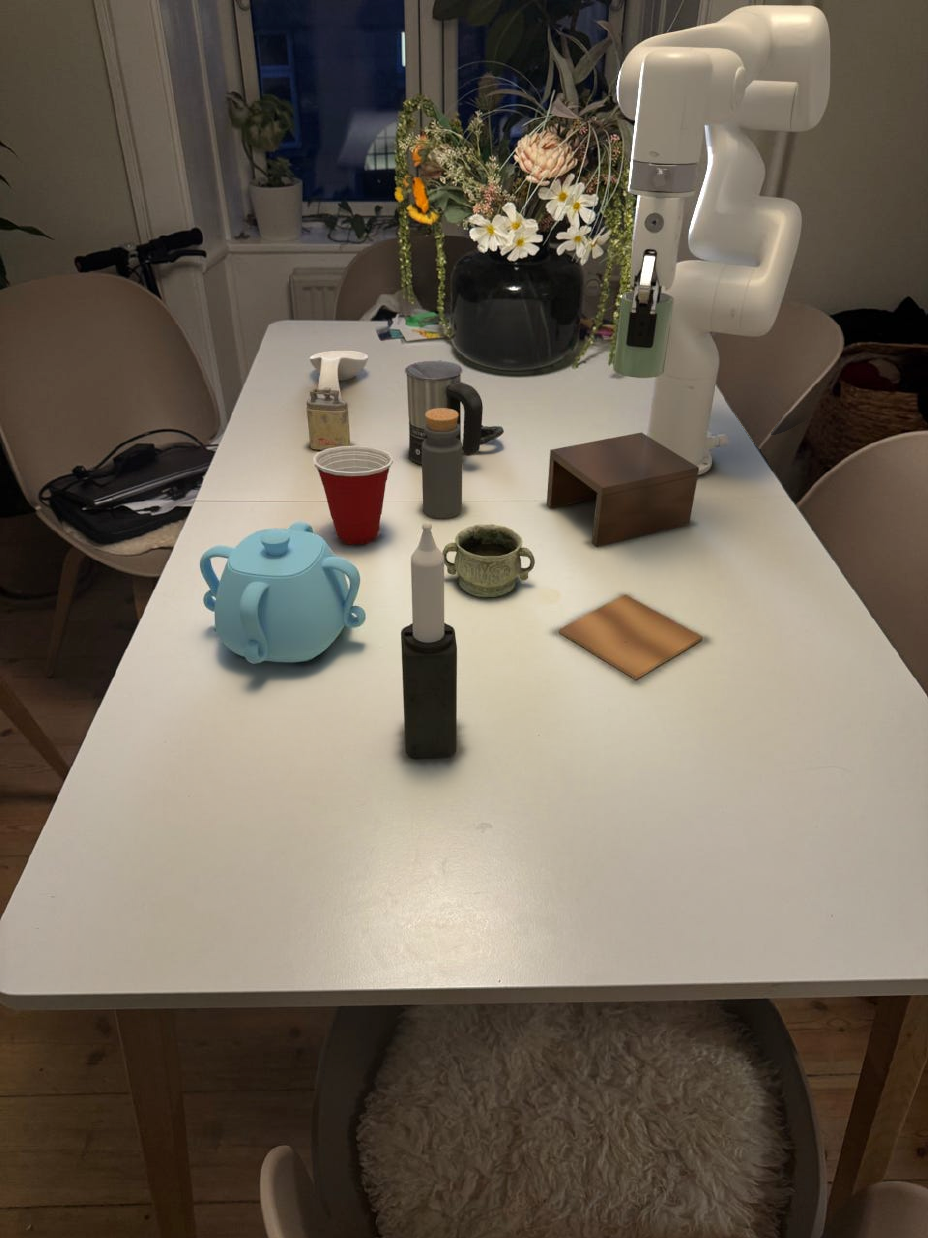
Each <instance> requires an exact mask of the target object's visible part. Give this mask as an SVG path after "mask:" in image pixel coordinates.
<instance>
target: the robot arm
mask: <svg viewBox="0 0 928 1238" xmlns="http://www.w3.org/2000/svg"><path fill="white" fill-rule="evenodd" d="M616 84H617V85H616V97H617V104H618V106H619V109H620V111H621V112H622V114H623V115H624V116H625V117H626V118H628V119H629V120H631V121H635V122H634V130H633V131H634V132H633V139H632V150H631V157H630V159H631V160H630V168H629V176H628V177H629V178H628V187H627V192H628V193H629V194H631V195H635V196H637V198H636V207H635V215H634V222H633V223H634V224H633V232H632V233H633V235H632V242H631V256H630V270H629V285H630V286H631V287H632V288H634V290H633V291H634V297H633V304H632V311H630V316H629V324H628V333H627V341H626V344H627V346H631V347H642V348H651V347H652V346H653V342H654V335H655V328H656V320H657V313H655V310H656V304H657V298H658V292H660V293H665V294H668V295H670V296H672V297H673V298H674V304H673V311H672V318H671V325H670V332H669V339H668V346H667V353H666V359H665V366H664V372H663V374H662V375H660V376H657V377H653V379H654V380H653V385H652V394H651V399H650V400H651V401H650V409H649V417H648V424H647V431H646V435H647V436H648V437H650V438H651V439H653V440H655V441H656V442H658V443H660V444H661V445H663V446H665V447H666V448H668V449H669V450H671V451H673V452H674V453H676V454H678V455H679V456H681V457H683V458H684V459H686V460H687V461H689V462H691V463H692V464H694V465H696V466H697V467H699V471H698V476H700V475H702V474H705V473H707V472H708V471H710V469H711V468H712V464H713V458H712V457H713V456H712V455H711V454H710V451H712V450H713V449H714V448H719V447H724V446H727V445H728V444H729V437H728V435H727V434H726V433H723V434H717V435H714V436H713V434H712V432H711V431H708V430H709V425H710V419H711V415H712V414H711V413H712V408H713V402H714V396H715V390H716V385H717V379H718V374H719V369H720V354H719V350H718V347H717V345H716V342H715V341H714V338H713V336H712V334H711V333H719V334H725V335H726V334H727V335H733V336H743V337H750V338H757V337H762V336H764V335H766V334H768V333H769V332H770V331H771V330H772V328H773V327H774V325H775V322H776V320H777V318H778V314H779V312H780V309H781V306H782V302H783V299H784V295H785V293H786V292H785V291H786V290H787V289H786V288H787V285H788V282H789V278H790V275H791V271H792V268H793V264H794V261H795V258H796V256H797V255H796V254H797V251H798V248H799V242H800V239H801V233H802V226H803V223H802V222H803V217H802V215H803V214H802V211H801V209H800V207H799V206H798V204H797V203H796V202H795V201H793V200H791V199H788V198H783V197H775V196H765V195H760V193H761V190H762V187H763V184H764V181H765V178H766V167H765V163H764V161H763V159H762V157H761V154H760V152H759V150H758V148H757V146H756V145H755V144H754V142H753V141H752V139H751V138H749V136H748V135H747V133H746V131H745V130H757V131H776V132H789V133H790V132H793V133H798V132H799V133H800V132H801V133H802V132H806V131H810V130H812V129H814V128H815V127H816V126H817V125H818V124H819V123H820V122H821V120H822V118H823V116H824V114H825V112H826V109H827V106H828V102H829V98H830V97H829V96H830V90H831V37H830V27H829V23H828V20H827V18H826V15H825V13H824V12H823V11H822V10H821V9H820V8H818V7H816V6H815V5H776V4H775V5H774V4H773V5H772V4H771V5H770V4H759V5H758V4H756V5H746V6H742V7H740V8H737V9H735V10H733V11H732V12H730V13H729V14H727V15H726V16H724V17H723V18H721V19H720V20H718V21H716V22H713V23H707V24H701V25H697V26H694V27H690V28H686V29H682V30H677V31H672V32H671V31H670V32H667V33H666V32H665V33H662V34H658V35H654V36H651V37H649V38H646V39H644V40H643V41H641V42H639V43H638V44H637V45H636V46H634V47H633V48H632V49H631V50H630V51H629V52H628V54H627V55H626V56H625V59H624V61H623V62H622V64H621V67H620V70H619V73H618V78H617V83H616ZM704 134H705V144H706V151H707V169H706V173H705V177H704V180H703V183H702V187H701V190H700V192H699V196H698V199H697V202H696V205H695V209H694V212H693V216H692V218H691V223H690V227H689V231H688V238H687V245H688V249H689V251H690V253H691V254H692V255H693V256H694V257H696V258H697V259H700V260H696V259H689V260H682V261H679V262H678V258H679V257H678V256H679V249H680V242H681V235H682V228H683V221H684V220H683V219H684V209H685V198H690V197H694V196H695V193H696V186H697V185H696V184H697V178H698V172H699V164H700V163H699V162H700V158H701V152H702V146H703V145H702V144H703V137H704ZM650 293H653V297H652V294H650ZM651 303H652V305H651Z"/></svg>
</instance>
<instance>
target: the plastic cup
mask: <svg viewBox="0 0 928 1238" xmlns="http://www.w3.org/2000/svg"><path fill="white" fill-rule="evenodd" d="M312 461H313V464H314V467H315V468H316V470H317V471H318V473H319V478H320V481H321V484H322V487H323V491H324V494H325V499H326V502H327V505H328V511H329V513H330V518H331V520H332V522H333V526H334V530H335V534H336V537H337V538H338V540H339V541H340V542H341V543H344V544H347V545H353V546H354V545H355V546H358V545H366V544H369V543H372V542H373V541H375V540H376V539H377V537H378V534H379V531H380V523H381V517H382V516H381V515H382V514H383V513H382V512H383V507H384V506H383V505H384V501H385V492H386V484H387V480H388V476H389V475H388V474H389V472H390V468H391V467H392V464H393V463H394V457H393V455H392V454H391V453H390V452H387V451H386V450H384V449H381V448H376V447H372V446H364V445H351V446H340V447H334V448H329V449H326V450H320V451H319V452H316V454H315V455H314V456H313V457H312Z"/></svg>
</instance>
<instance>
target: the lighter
mask: <svg viewBox="0 0 928 1238" xmlns="http://www.w3.org/2000/svg"><path fill="white" fill-rule="evenodd" d="M317 394H324V396H325V397H326V398H318V397H317ZM338 395H339V391H337V390H331V388H324V389H318V388H316V387H315V388H312V389H311V390H310V391H309V396H310V398H309V399H307V400H306V415H307V427H308V437H309V448H311V449H312V450H317V451H318V450H320V451H323V450H326V449H329V448H334V447H340V446H352V445H351V434H350V420H349V407H348V401H347V400H345V399H343V398H342V399H338ZM330 396H333V397H334V399H332V398H330Z"/></svg>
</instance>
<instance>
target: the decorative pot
mask: <svg viewBox="0 0 928 1238" xmlns="http://www.w3.org/2000/svg"><path fill="white" fill-rule="evenodd" d="M213 558H222V559H227V561H226V562H225V566H224V569H223V571H222V574H221V576H220V579H219V577H218V576H217V574H216V572H215V570H214V568H213V566H212V562H211V559H213ZM199 569H200V572H201V575H202V578H203V580H204V581H205V583H206V585H207V587H208V588H209V589H208V590H207V591H205V593H204V595H203V599H202V600H203V601H202V602H203V605H204V607H205V608H206V609H207V610H209V611H211V612H212V613H213V612H214V627H215V628H214V629H215V632H216V635H217V637H218V639H219V641H220V642H221V643H222V644H223V645H224V646H226V647H227V648H228V649H229V650H230V651H232V652H233V653H235V654H236V655H238V656H240V657H244V658H245V660H246V661H247V662H248V663H251V664H260V663H262V662H273V663H300V662H309V661H311V660H313V659H315V658H316V657H317V656H319V655H321V654H322V653H323V652H325V651H326V650H327V649H328V648H329V647H330V646H331V645H332V644H333V643H334V642H335V640H336V639H337V638H338V636H339V635H340V634H341V632H342V630H343V629H344V627H348V628H351V629H353V628H359V627H361V626H362V625H363V624H364V623H365V621H366V618H367V615H366V611H365V610H364V608H363V607H361V606H360V605H354V604H355V601H356V599H357V596H358V593H359V589H360V586H361V576H360V572H359V569H358V568H357V567H356V566H355V564H353V562H351V561H349V560H348V559H345V558H343V557H339V556H336V555H335V554H334V552H333V551H332V549H331V547H330V546H329V545H328V543H327V542H326V540H325V539H324V538H323V537H322V536H321V535H319V534H317V533H315V532H314V529H313V527H312V525H311V524H309V523H307V522H304V521H296V522H293V523H291V524H290V526H289V527H288V528H265V529H259V530H256V531H254V532H252V533H251V534H249V535H247V536H246V537H244V538H243V539H242V540H241V541H240V542H239V543H238V544H237V545H236V546H235V547H231V546H228V545H215V546H212V547H210V548H209V549H207V550H206V551H205V552H204V553H203V554H202V555H201V557H200V561H199ZM346 577H347V578H348V580H349V585H348V581H347V578H346ZM213 597H214V598H213Z"/></svg>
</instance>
